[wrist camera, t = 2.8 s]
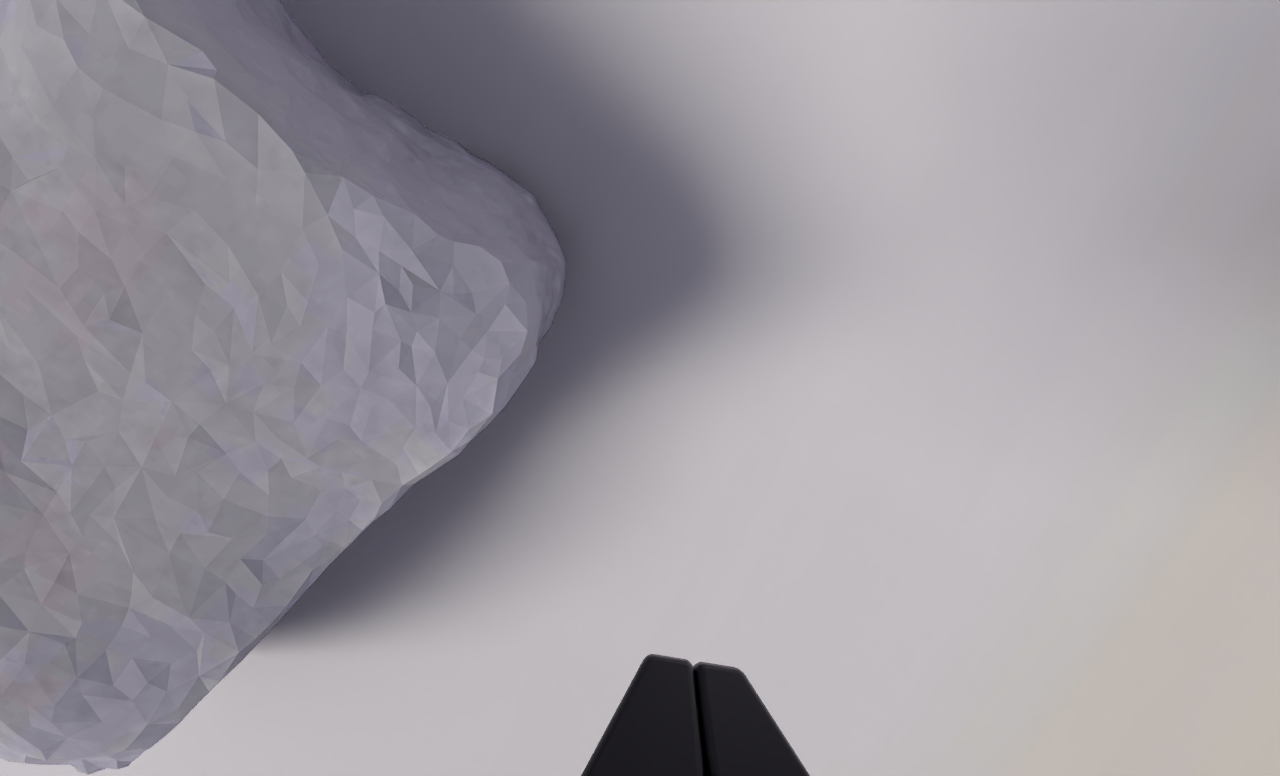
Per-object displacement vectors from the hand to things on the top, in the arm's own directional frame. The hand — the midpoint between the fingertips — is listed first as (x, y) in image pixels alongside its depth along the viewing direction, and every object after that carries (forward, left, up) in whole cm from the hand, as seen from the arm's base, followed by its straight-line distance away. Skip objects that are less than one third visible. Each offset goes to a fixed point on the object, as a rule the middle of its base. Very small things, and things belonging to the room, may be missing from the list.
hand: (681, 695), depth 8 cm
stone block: (+9, +1, -8) cm, 12 cm away
